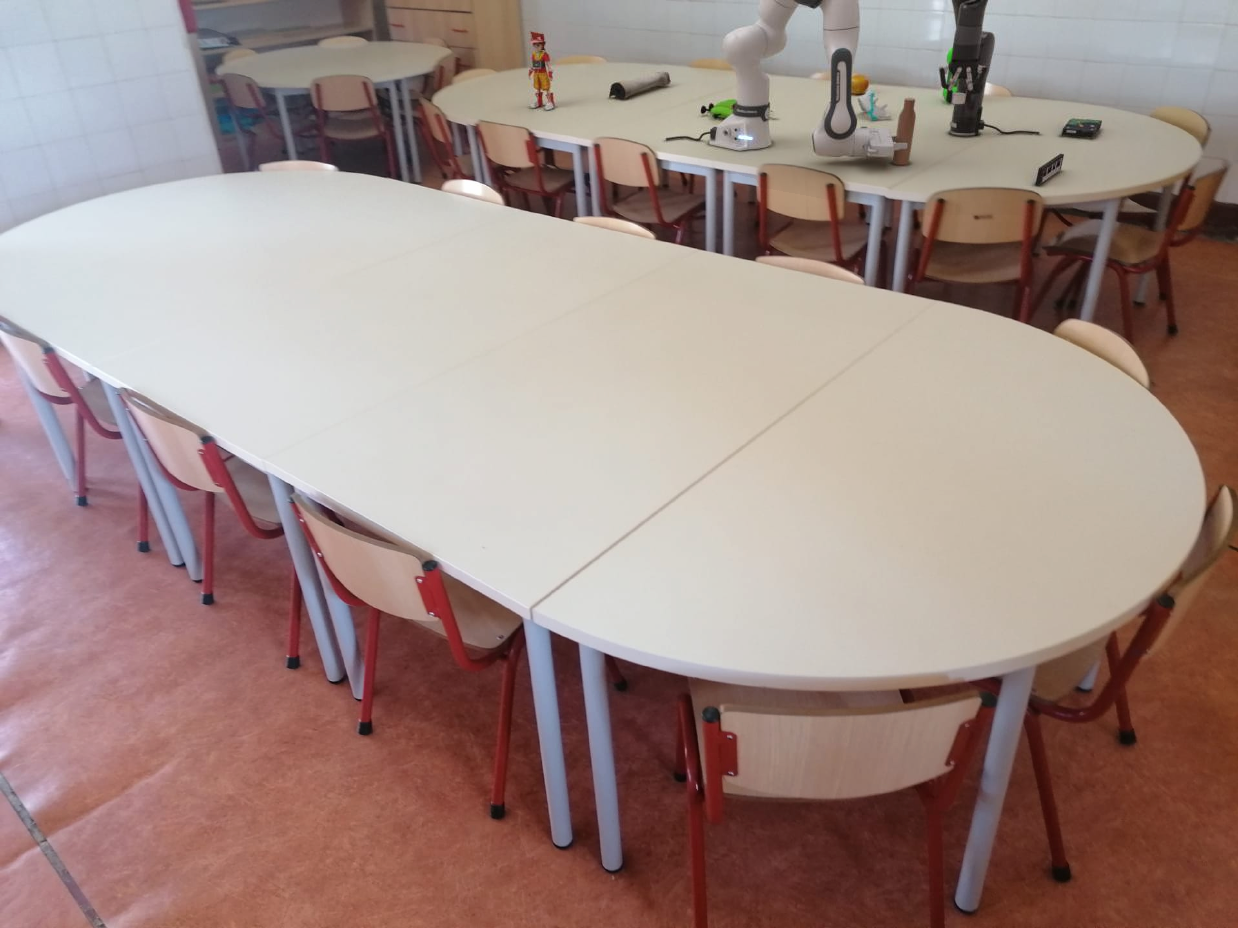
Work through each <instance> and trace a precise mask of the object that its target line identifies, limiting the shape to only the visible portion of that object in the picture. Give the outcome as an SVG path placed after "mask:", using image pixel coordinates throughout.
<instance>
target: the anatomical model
mask: <svg viewBox="0 0 1238 928" xmlns="http://www.w3.org/2000/svg"><path fill="white" fill-rule="evenodd" d="M864 93H865V94H863V95H859V96H858V97H857V102H858V105H859V107H860V110H861V111H862V112H865V113H868V116H869V117H870V119H871V120H872V121H878V120H879V119H890V118H891V117H892V114H890V113H889V114H888V113H886V112H885V111H886V108H887V107H888V106H889V105H888V104H887V103H886V104H883V105H881V106H880V105H879V106H877V105H876V103H877V101H879V97H877V98H875V97H876V95H875V92H872V90H871V89H867V90H866V91H865V92H864Z"/></svg>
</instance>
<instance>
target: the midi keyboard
mask: <svg viewBox="0 0 1238 928" xmlns="http://www.w3.org/2000/svg"><path fill="white" fill-rule="evenodd" d="M1064 157H1065V153H1059V154H1058V155H1056V156H1055V157H1052V159H1051V160H1049V161H1047V162H1045V164H1042V165H1041V166H1039V167H1038V169H1037V175H1036V179H1035V186H1040V185H1042V183H1044V182H1045V181H1047V180H1048V179H1049V178H1051V177H1052V176H1054V175H1055V174H1056V173H1058V172H1060V171H1061V170H1062V165H1063V161H1064Z"/></svg>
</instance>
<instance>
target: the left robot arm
mask: <svg viewBox="0 0 1238 928" xmlns="http://www.w3.org/2000/svg"><path fill="white" fill-rule="evenodd" d="M799 5H802V6H805V7H808V8H810V9H813V10H814V9H817V8H820V9H821V11H822V14H823V15H822V18H823V19H822V41H823V48H824V53H825V57H826V61H827V63H828V67H829V72H830V101H829V102H828V103H827V105H826V106H825V109H824V112H823V115H822V117H821V119H820V121H819V123H818V125H817V126H816V128H815V129H814V130H813V131H812V134H811V139H812V148H813V152H814V154H815V155H816V156H818V157H823V158H824V157H825V158H841V157H849V158H867V157H868V155H869V156H871V157H877V158H878V157H881V158H891V157H893V154H894V150H899V149H906V148H907V145H908V144H907V142H902V143H895V140H896V134H892V133H891V130H890V129H888V128H884V127H883V128H882V127H868V126H867V125H864V126H860V127H859V128H857V125H858V118H857V115H856V111H855V107H854V105H853V104H852V93H851V87H852V77H853V69H854V64H855V58H856V54H857V50H858V45H859V39H860V28H861V12H860V11H861V10H860V2H859V0H760V1H759V3H758V5H757V13H758V15H759V18H758V20H757V21H755V23H754V24H751V25H747V26H743V27H742V26H741V27H738V28H736V29H733V30H732V31H730V32H729V33H727V34H726V35H725V36H724V38H723V40H722V47H721V49H722V53H723V56H724V58H725V60H726V61H727V62H729V64H730V65H731V66H732V68H733V71H734V73H735V76H736V77H735V78H736V100H737V102H736V103H735V104H733V105H732V106H730V107H731V108H730V109H733V112H732V114H731V115H730V116H728V117H727V118H724V119H723V120H721V122H720V123H718V125H717V126H713V127H711V129H709V131H707V132H703V133H702V134H700V136H699V137H698V138H694V137H691V136H688V135H679V136H671V137H665V140H666V141H670V140H677V139H678V140H679V139H687V140H691V141H695V142H696V141H700V140H702V138H703V137H704V136H706V135H709V143H708V144H709V145H710V146H716V147H719V148H720V147H721V148H725V149H729V150H734V151H739V152H740V151H741V152H742V151H747V150H748V151H749V150H758V149H764V148H768V147H770V146H771V145H772V144H773V142H772V138H771V131H770V118H769V117H771V112H770V110H771V102H770V85H771V81H770V77H769V76H768V74H767V73H765V72H763V70H762V66H761V60H763V59H764V60H765V59H768V58H772V57H774V56H776V55H777V54H779V53H780V52H782V51H783V50H784V49H785V48H786V45H787V41H788V34H787V30H786V27H787V25H788V23H789V21H790V19H791V18H792V16H793V14H794V13H795V12H796V9H797V8H798V6H799Z"/></svg>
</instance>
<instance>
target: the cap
mask: <svg viewBox="0 0 1238 928" xmlns="http://www.w3.org/2000/svg"><path fill="white" fill-rule="evenodd" d="M965 101H966V94H965V93H953V94H952V100H951V104H953V105H954V104H964V103H965Z"/></svg>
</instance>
